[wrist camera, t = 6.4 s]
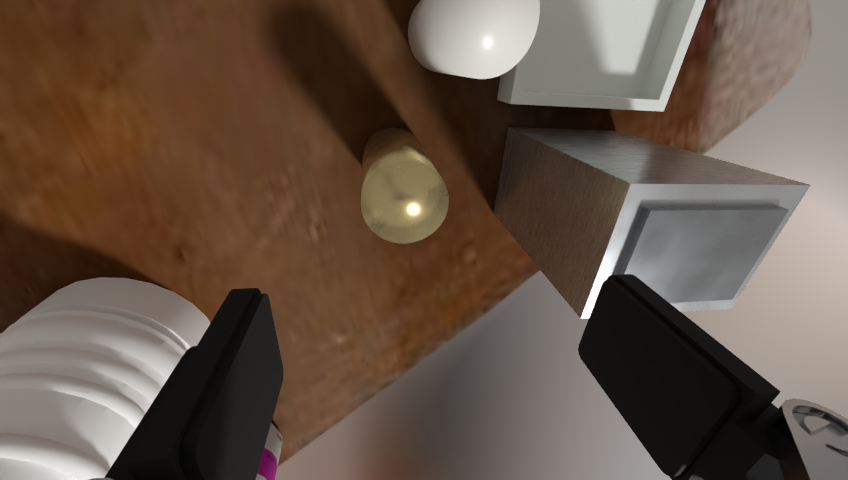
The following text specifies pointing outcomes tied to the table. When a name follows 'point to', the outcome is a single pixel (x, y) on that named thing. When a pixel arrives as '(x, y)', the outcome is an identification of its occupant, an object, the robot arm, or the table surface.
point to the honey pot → (87, 374)
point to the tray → (603, 54)
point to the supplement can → (270, 455)
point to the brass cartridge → (401, 188)
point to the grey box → (638, 215)
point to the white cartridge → (472, 35)
